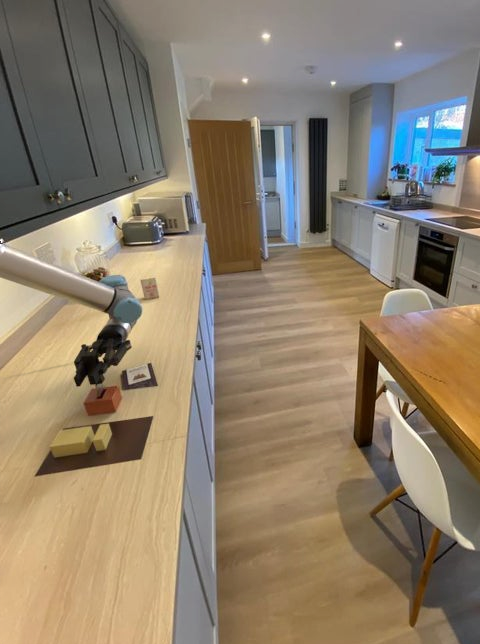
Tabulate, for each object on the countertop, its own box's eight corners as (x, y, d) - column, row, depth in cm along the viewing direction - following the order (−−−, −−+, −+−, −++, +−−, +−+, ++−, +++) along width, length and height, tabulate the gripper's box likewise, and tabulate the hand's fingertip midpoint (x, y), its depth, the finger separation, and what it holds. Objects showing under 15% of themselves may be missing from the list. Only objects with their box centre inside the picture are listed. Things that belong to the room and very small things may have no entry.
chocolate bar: (126, 403, 92) (121, 370, 106) (127, 406, 92) (122, 373, 106) (160, 392, 96) (151, 362, 110) (160, 395, 97) (151, 365, 111)
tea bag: (144, 297, 165) (140, 278, 161) (158, 294, 167) (155, 276, 163) (144, 299, 162) (140, 281, 158) (159, 297, 164) (155, 278, 160)
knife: (99, 415, 89) (79, 357, 82) (103, 407, 92) (84, 351, 84) (111, 413, 90) (92, 356, 82) (114, 406, 93) (96, 350, 85)
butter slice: (96, 451, 77) (92, 440, 75) (103, 435, 81) (100, 424, 80) (105, 449, 77) (101, 439, 76) (112, 433, 81) (108, 423, 80)
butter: (54, 457, 75) (49, 446, 74) (63, 440, 79) (59, 430, 78) (87, 452, 76) (83, 441, 75) (94, 436, 81) (91, 425, 79)
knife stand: (89, 420, 88) (83, 402, 85) (97, 405, 93) (91, 388, 91) (117, 416, 89) (111, 399, 87) (123, 401, 94) (118, 385, 92)
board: (36, 481, 71) (34, 476, 71) (64, 432, 84) (63, 428, 83) (142, 463, 75) (141, 459, 75) (154, 419, 88) (153, 415, 87)
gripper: (144, 342, 104) (123, 388, 83) (89, 347, 101) (53, 397, 80) (139, 321, 101) (116, 364, 80) (82, 326, 98) (43, 372, 77)
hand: (85, 381), depth 80 cm, fingers closed on knife, 3 cm apart
